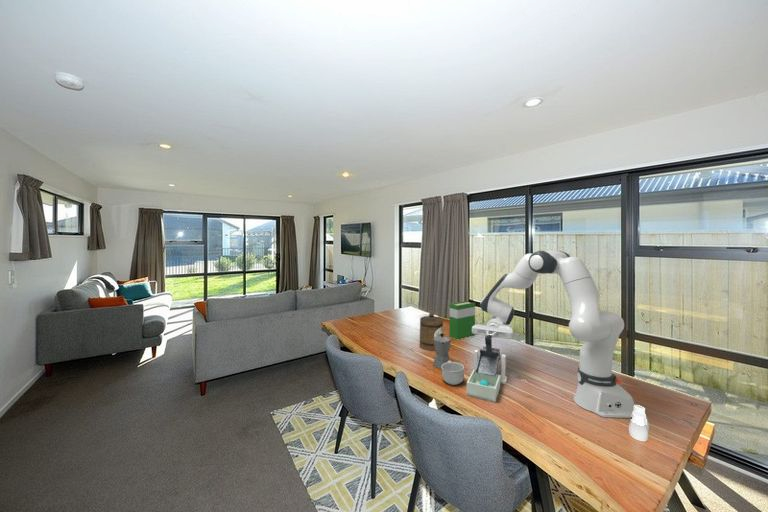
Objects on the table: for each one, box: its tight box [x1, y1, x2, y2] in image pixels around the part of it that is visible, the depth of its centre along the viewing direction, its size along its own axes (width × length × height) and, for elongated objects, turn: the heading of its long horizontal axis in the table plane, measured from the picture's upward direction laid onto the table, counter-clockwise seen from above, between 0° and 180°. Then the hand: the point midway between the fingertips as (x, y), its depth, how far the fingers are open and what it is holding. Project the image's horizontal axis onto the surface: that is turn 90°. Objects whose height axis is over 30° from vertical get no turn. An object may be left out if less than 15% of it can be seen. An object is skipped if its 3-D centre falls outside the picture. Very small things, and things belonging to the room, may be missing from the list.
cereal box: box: [449, 300, 476, 340], centre depth 209 cm, size 18×7×24 cm, turn 122°
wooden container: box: [419, 312, 444, 351], centre depth 190 cm, size 15×15×22 cm
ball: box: [480, 380, 489, 387], centre depth 134 cm, size 4×4×4 cm
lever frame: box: [473, 349, 508, 385], centre depth 147 cm, size 16×6×13 cm, turn 61°
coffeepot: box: [433, 333, 452, 370], centre depth 162 cm, size 15×9×18 cm, turn 174°
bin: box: [466, 369, 501, 403], centre depth 134 cm, size 12×14×6 cm
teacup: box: [441, 360, 465, 386], centre depth 144 cm, size 14×11×8 cm
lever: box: [475, 335, 502, 377], centre depth 142 cm, size 10×18×16 cm, turn 151°
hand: (489, 336), depth 146 cm, fingers closed
